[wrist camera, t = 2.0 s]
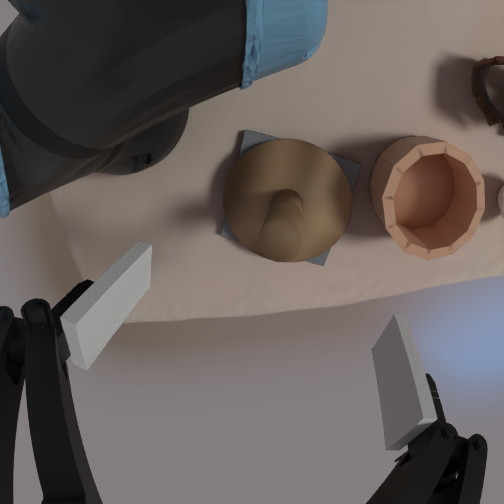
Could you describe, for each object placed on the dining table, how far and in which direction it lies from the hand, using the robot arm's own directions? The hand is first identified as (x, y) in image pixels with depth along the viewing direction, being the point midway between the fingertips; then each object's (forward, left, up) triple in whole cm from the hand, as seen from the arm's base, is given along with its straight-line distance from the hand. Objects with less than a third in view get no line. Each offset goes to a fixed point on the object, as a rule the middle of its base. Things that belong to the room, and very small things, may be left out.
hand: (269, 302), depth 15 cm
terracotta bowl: (+13, +6, -18) cm, 23 cm away
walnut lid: (0, 0, -18) cm, 18 cm away
